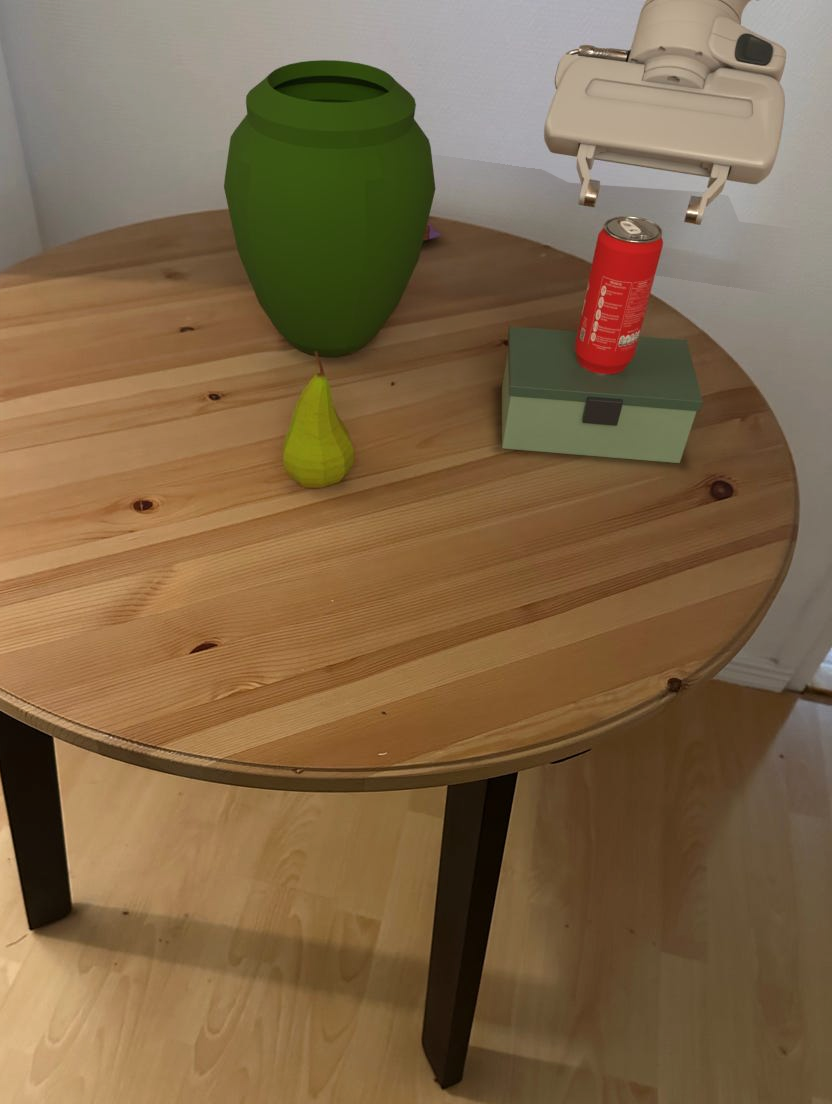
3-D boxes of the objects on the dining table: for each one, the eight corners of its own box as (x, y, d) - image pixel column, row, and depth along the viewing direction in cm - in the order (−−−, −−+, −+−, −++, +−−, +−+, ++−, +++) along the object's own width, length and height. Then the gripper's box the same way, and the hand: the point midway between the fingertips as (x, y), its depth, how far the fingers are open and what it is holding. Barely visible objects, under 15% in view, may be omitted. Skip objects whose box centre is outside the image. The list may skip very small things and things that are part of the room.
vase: (437, 308, 107) (462, 59, 90) (399, 403, 94) (419, 133, 77) (266, 282, 110) (258, 36, 93) (206, 371, 97) (183, 104, 80)
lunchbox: (667, 398, 96) (686, 336, 91) (683, 468, 88) (704, 404, 84) (499, 385, 97) (509, 323, 92) (499, 453, 89) (510, 389, 84)
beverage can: (587, 380, 86) (618, 245, 77) (563, 350, 89) (590, 217, 80) (641, 373, 87) (677, 239, 78) (615, 343, 90) (647, 212, 81)
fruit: (319, 512, 83) (320, 387, 74) (266, 481, 85) (261, 357, 77) (368, 478, 86) (375, 355, 77) (316, 450, 89) (316, 327, 80)
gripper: (564, 21, 86) (523, 177, 87) (806, 52, 82) (762, 216, 83) (563, 62, 92) (525, 208, 93) (789, 93, 88) (748, 245, 89)
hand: (639, 212), depth 88 cm, fingers open, 8 cm apart
